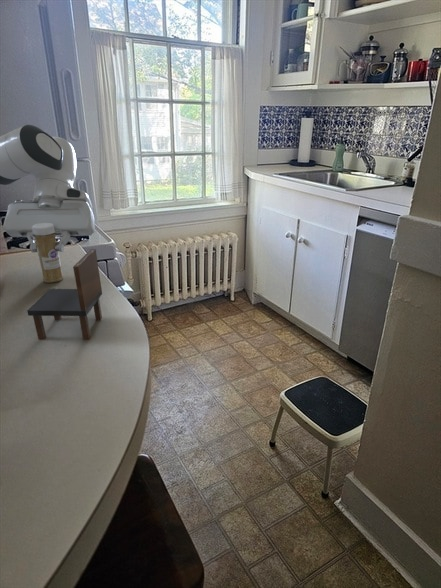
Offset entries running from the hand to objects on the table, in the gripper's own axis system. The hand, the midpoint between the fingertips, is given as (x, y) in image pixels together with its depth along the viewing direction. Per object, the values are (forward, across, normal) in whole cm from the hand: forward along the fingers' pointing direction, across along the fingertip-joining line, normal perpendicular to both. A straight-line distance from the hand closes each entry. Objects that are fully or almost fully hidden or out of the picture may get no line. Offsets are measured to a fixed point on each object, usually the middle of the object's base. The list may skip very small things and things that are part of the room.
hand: (46, 251), depth 90 cm
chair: (+22, +11, -11) cm, 27 cm away
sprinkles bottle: (+5, 0, +6) cm, 8 cm away
